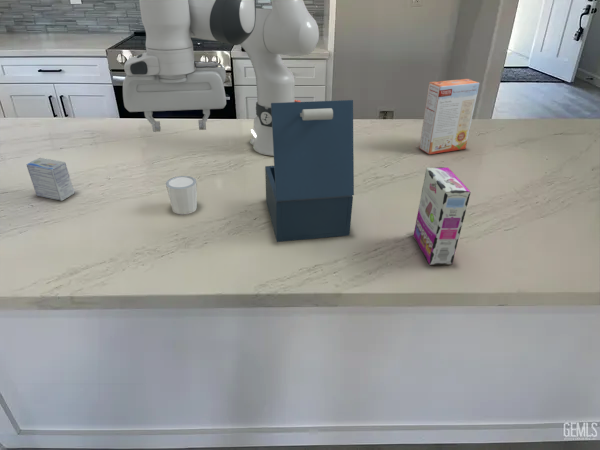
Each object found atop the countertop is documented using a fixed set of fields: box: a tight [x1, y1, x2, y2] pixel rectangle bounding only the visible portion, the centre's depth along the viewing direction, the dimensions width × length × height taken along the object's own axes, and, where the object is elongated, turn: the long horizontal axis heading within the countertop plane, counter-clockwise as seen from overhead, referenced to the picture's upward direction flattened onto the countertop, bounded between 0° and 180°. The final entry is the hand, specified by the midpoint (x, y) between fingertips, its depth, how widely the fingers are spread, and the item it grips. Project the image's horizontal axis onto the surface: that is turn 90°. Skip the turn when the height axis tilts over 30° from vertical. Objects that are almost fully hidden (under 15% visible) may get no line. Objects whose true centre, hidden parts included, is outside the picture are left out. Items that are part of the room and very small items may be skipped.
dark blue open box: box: [264, 165, 354, 243], centre depth 100 cm, size 18×16×10 cm
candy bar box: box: [412, 166, 472, 266], centre depth 87 cm, size 11×5×16 cm, turn 5°
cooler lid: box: [271, 99, 355, 201], centre depth 85 cm, size 19×16×5 cm
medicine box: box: [26, 157, 75, 202], centre depth 107 cm, size 8×4×9 cm, turn 71°
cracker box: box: [419, 78, 480, 155], centre depth 134 cm, size 14×6×21 cm, turn 111°
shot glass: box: [165, 175, 198, 215], centre depth 103 cm, size 7×7×7 cm
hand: (180, 130), depth 94 cm, fingers open, 8 cm apart
